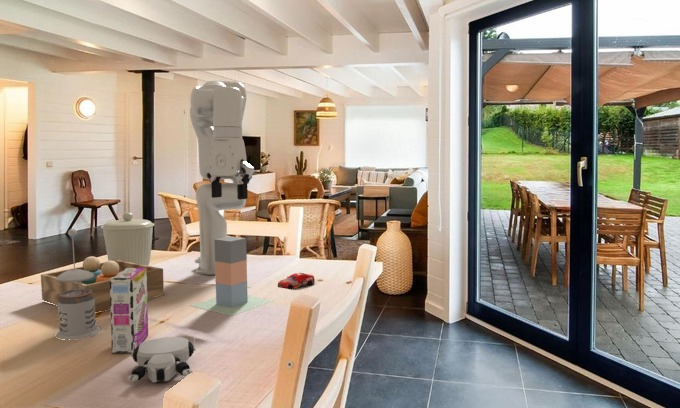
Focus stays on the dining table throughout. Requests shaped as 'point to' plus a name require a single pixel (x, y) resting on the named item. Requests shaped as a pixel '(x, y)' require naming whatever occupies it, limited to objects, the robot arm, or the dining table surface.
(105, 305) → the wooden tray
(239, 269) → the brick
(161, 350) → the robot toy
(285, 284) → the race car
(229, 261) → the gray cube
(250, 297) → the board
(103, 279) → the wooden peg doll toy
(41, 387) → the dining table surface
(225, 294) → the base brick
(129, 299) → the candy bar box
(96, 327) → the french press
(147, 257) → the canister
